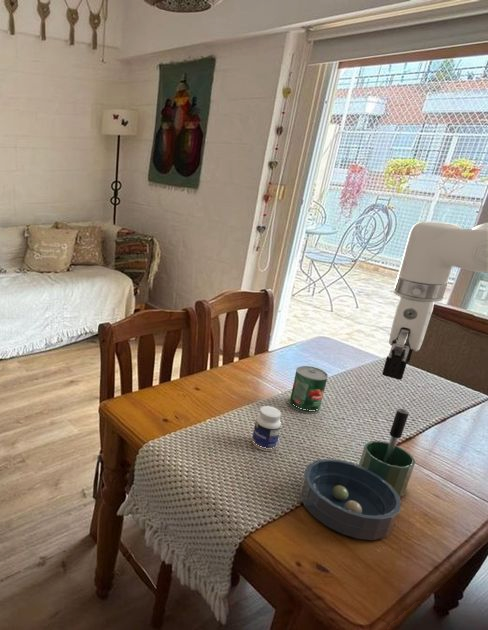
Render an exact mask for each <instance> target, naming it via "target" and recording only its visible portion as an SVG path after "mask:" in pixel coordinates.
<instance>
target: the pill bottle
mask: <svg viewBox="0 0 488 630" xmlns="http://www.w3.org/2000/svg"><path fill="white" fill-rule="evenodd" d="M281 416H282V413H281V411H280V409H278V408H276V407H274V406H270V405H263V406H261V407H260V408H259V413H258V415H257V416H256V418H255V421H254V422H255V423H254V427H253V431H252V432H253V433H252V438H251V443H252V445H253V446H254V447H255V448H257V449H258V450H261V451H264V452H272V451H274V450H275V449H277V446H278V441H279V438H280V437H279V436H280V433H281V428H282V422H281ZM252 439H253V440H252ZM253 441H254V442H255V443H256V444H257V445H256V444H255V443H254V442H253ZM258 445H259V446H258ZM276 445H277V446H276ZM260 446H262V447H266V448H272V449H266V448H262V447H260ZM275 446H276V447H275ZM273 447H275V448H273Z"/></svg>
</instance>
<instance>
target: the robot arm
mask: <svg viewBox="0 0 488 630" xmlns="http://www.w3.org/2000/svg"><path fill="white" fill-rule="evenodd" d="M454 267H456V268H458V269H463V270H466V271H471V272H475V273H480V274H488V222H484V223H481V224H478V225H476V226H474V227H472V228H462V227H461V226H460V225H458V224H455V223H450V222H443V221H420V222H417V223H415V224H414V225H413V226H412V227H411V228H410V230H409V233H408V237H407V241H406V245H405V249H404V252H403V256H402V259H401V263H400V267H399V270H398V274H397V278H396V282H395V285H394V289H393V294H394V295H396V296H398V297H399V299H398V302H397V305H396V309H395V313H394V317H393V321H392V324H391V330H390V334H389V340H388V345H390V346H391V347H390V350H389V353H388V355H387V356H386V359H385V363H384V366H383V370H382V373H381V375H382V376H384V377H388V378H391V379H394V380H399V381H402V379H403V377H404V375H405V370H406V367H407V364H409V363H410V360H411V358H412V354H413V351H414V352H419V351H420V350H421V347H422V344H423V342H424V339H425V336H426V333H427V330H428V326H429V324H430V321H431V317H432V314H433V310H434V306H435V303H437V302H441V301H443V299H444V297H445V293H446V289H447V287H448V283H449V281H450V277H451V273H452V271H453V268H454Z"/></svg>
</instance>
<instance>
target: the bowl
mask: <svg viewBox="0 0 488 630" xmlns="http://www.w3.org/2000/svg"><path fill="white" fill-rule="evenodd" d="M336 485H341V486H343V487H345V488H346V489H347V491H348V494H349V495H348V498H347V499H346V500H343V501H340V500H337V499H336V498H335V497H334V496H333V495H332V488H333V487H334V486H336ZM299 498H300V500H301V502H302V504H303V506H304V508H305V509H306V510H307V511H308V513H310V514H311V515H312V516H313V517H314V518H315V519H316V520H317V521H319V522H321V524H323V525H324V526H326V527H327V528H330V529H331V530H334V531H335V532H338V533H339V534H342V535H344V536H347V537H352V538H354V539H358V540H367V541H375V540H380V539H385V538H387V537H388V536H389V535H391V534H392V533H393V531H394V528H395V525H396V523H397V521H398V517H399V515H400V510H401V507H402V501H401V499H400V498H401V497H399V495H398V494H397V492H396V491H395V490H394V488H393V487H392V486H391V485H390V484H389V483H388V482H386V481H385V480H384V479H383V478H381V477H380V476H379V475H377V474H375V473H373V472H372V471H370V470H368V469H366V468H364V467H361V466H359V464H356V463H354V462H351V461H350V462H349V461H346V460H342V459H336V458H335V459H334V458H322V459H315V460H314V461H311V462H310V463H308V464H307V466H306V467H305V469H304V472H303V476H302V480H301V483H300V487H299ZM350 500H353V501H356V502H358V503H359V504H360V505H361V507H362V513H361V514H359V513H356V512H352V511H349V510H346V509H345V508H344V505H345V503H346V502H347V501H350Z"/></svg>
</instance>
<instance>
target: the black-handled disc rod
mask: <svg viewBox="0 0 488 630" xmlns="http://www.w3.org/2000/svg"><path fill="white" fill-rule="evenodd" d="M409 414H410V412H409V411H408V410H406V409H403V408H397V409H396V411H395V415H394V417H393V418H394V419H393V421H392V425H391V428H390V430H389V435H390V439H389V442H388V443H389V445H388V448H387V451H386V454H385V457H384V460H383V462H384V463H387V464H390V461H391V458H392V455H393V452H394V449H395V446H397V444H398V440H399V439H401V438H402V436H403V433H404V430H405V426H406V424H407V420H408V418H409Z"/></svg>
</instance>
